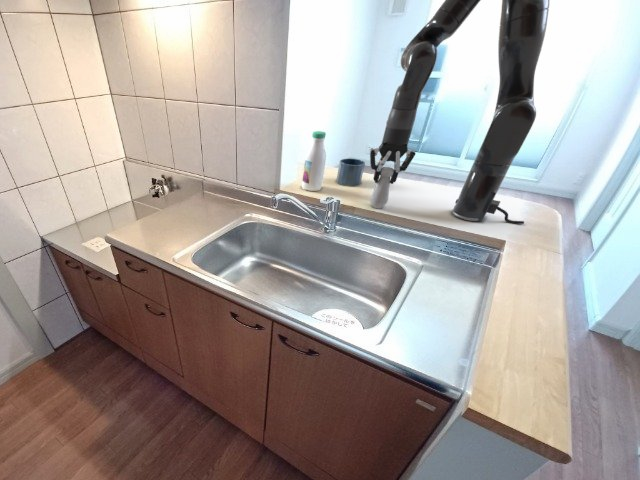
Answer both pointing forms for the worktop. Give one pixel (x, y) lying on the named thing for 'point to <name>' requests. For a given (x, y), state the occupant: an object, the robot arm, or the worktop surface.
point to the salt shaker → (382, 188)
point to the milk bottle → (314, 163)
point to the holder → (350, 172)
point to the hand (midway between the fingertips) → (383, 182)
